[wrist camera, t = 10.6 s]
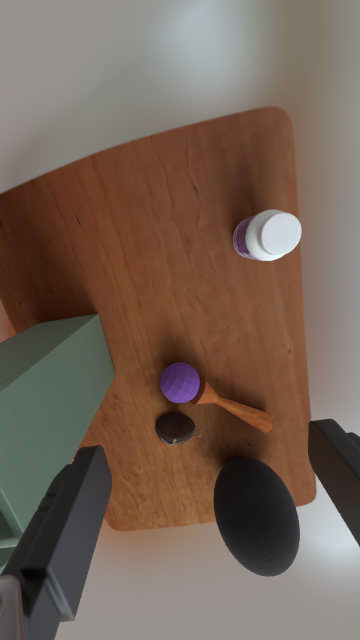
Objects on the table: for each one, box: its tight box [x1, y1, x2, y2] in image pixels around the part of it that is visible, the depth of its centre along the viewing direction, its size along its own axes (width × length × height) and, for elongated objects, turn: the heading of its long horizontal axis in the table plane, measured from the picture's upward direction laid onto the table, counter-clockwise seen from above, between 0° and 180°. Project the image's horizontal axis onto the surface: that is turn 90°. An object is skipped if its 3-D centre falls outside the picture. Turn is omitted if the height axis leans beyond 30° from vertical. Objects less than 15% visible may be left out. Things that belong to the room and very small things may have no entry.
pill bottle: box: [233, 210, 301, 261], centre depth 27 cm, size 5×5×10 cm
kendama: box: [160, 362, 274, 433], centre depth 37 cm, size 6×6×20 cm
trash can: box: [0, 314, 115, 547], centre depth 26 cm, size 11×10×23 cm
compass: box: [155, 413, 202, 446], centre depth 37 cm, size 8×8×7 cm
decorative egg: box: [214, 457, 300, 577], centre depth 37 cm, size 12×12×15 cm
